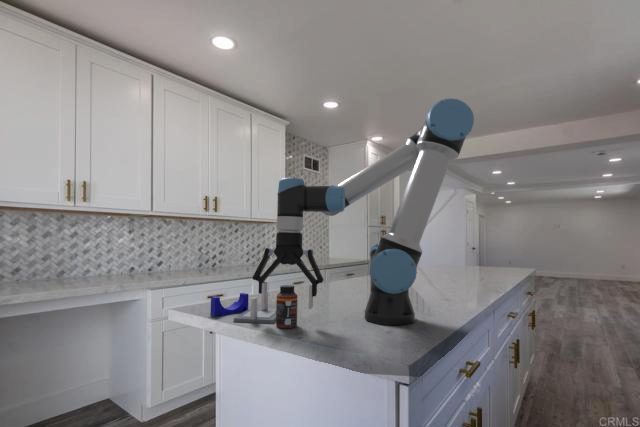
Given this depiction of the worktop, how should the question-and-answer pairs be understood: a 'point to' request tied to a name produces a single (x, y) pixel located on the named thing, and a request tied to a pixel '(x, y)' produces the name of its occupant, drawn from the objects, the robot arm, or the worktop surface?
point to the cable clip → (234, 308)
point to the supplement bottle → (286, 307)
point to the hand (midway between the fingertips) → (287, 306)
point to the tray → (257, 314)
